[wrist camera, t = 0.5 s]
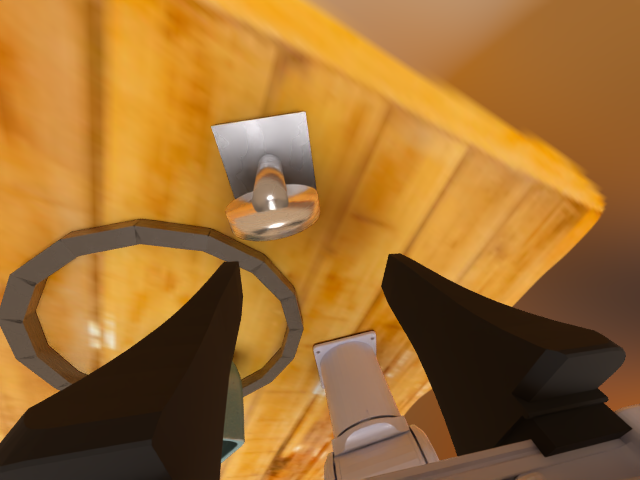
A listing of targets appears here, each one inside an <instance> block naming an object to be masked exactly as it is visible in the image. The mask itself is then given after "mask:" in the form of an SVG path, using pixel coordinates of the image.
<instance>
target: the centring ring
mask: <svg viewBox="0 0 640 480" xmlns="http://www.w3.org/2000/svg"><path fill="white" fill-rule="evenodd" d="M137 244H145V245H154V246H162V247H171V248H180V249H189V250H197V251H204V252H206V253H209V254H211V255H213V256H215V257H218V258H220V259H222V260H224V261H227V262H232V261H239V267H240V268H243V269H245V270H247V271H249V272H252V273H253V274H254V275H255V276H256V277H257V278H258V279H259V280H260V281H261V282H262V283H263V284H264V285H265V286H266V287H267V288H268V289H269V290H270V291H271V292H272V293H273V294H274V295H275V296H276V297H277V298H278V299H279V300H280V301H281V304H282V307H283V311H284V314H285V317H286V321H287V324H288V325H287V329H286V333H285V336H284V340H283V344H282V347H281V348H280V350H279V351H278V352H277V353H276V354H275V355H274V356H273V357H272V358H271V360H270V361H269V362H268V363H267V364H266V365H265V366H264V367H263V368H262V369H261V370H259V371H257V372H255V373H253V374H252V375H250V376H248V377H246V378H244V379H243V380H241V382H242V389H243V397H244V396H246V395H248V394H250V393H252V392H254V391H256V390H257V389H259V388H261V387H263V386H265V385H267V384H269V383H271V382H272V381H273V380H274V379H275V378H276V377H277V376H278V375H279V373H280V372H281V371H282V370H283V369H284V368H285V367H286V366H287V365H288V364H289V363H290V362H291V361H292V360H293V359H294V357H295V354H296V351H297V347H298V344H299V341H300V338H301V335H302V332H303V322H302V317H301V313H300V309H299V305H298V301H297V297H296V293H295V289H294V287H293V286H292V285H291V283H290V282H289V281H288V280H287V279H286V278H285V277H284V276H283V275H282V274H281V272H280V271H279V270H278V269H277V268H276V267H275V266H274V265H273V264H272V262H271V261H270V260H269V259H268V258H267V257H266V256H265V255H264V254H262V253H260V252H258V251H256V250H254V249H252V248H250V247H248V246H246V245H244V244H242V243H240V242H238V241H236V240H234V239H231V238H229V237H227V236H225V235H223V234H221V233H219V232H217V231H215V230H213V229H210V228H203V227H196V226H189V225H182V224H175V223H167V222H160V221H153V220H146V219H138V220H133V221H127V222H122V223H116V224H111V225H106V226H100V227H95V228H90V229H84V230H79V231H73V232H71V233H69V234H68V235H66V236H65V237H63V238H62V239H60V240H58V241H57V242H56V243H54V244H53V245H51V246H50V247H49V248H47V249H46V250H44V251H43V252H41V253H40V254H39V255H37V256H36V257H34V258H33V259H31V260H30V261H29V262H27V263H26V264H24V265H23V266H21V267H20V268H19V269H17V270H16V271H14V272H13V273H11V274H10V276H9V279H8V283H7V286H6V289H5V293H4V296H3V299H2V303H1V306H0V326H1V329H2V331H3V333H4V335H5V337H6V339H7V341H8V343H9V345H10V347H11V349H12V351H13V354H14V356H15V358H16V359H17V360H18V361H19V362H21V363H22V364H23V365H25V366H26V367H27V368H29V369H30V370H31V371H33V372H34V373H35V374H37V375H38V376H39V377H41V378H42V379H43V380H45V381H46V382H47V383H49V384H50V385H51V386H53V387H54V388H56V389H58V390H63V389H65V388H66V387H68V386H70V385H72V384H74V383H75V382H77V381H79V380H81V379H82V378H84V377H86V376H87V375H85V374H83V373H81V372H78V371H77V370H76V369H75V368H74V367H73V366H71V365H70V364H69V363H68V362H67V361H66V360H64V359H63V358H62V357H61V356H60V355H59V354H57V353H56V352H55V351H54V350H53V349H52V348H51V347H49V346H48V344H47V342H46V339H45V336H44V334H43V331H42V328H41V326H40V323H39V320H38V318H37V315H36V312H35V310H36V307H37V305H38V302H39V299H40V296H41V294H42V291H43V288H44V286H45V283H46V280H47V277H48V276H50V275H51V274H53V273H54V272H56V271H57V270H59V269H60V268H61V267H63V266H64V265H66V264H67V263H69V262H70V261H72V260H73V259H75V258H76V257H78V256H81V255H86V254H91V253H96V252H102V251H107V250H112V249H117V248H122V247H127V246H132V245H137Z"/></svg>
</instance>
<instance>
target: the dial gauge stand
mask: <svg viewBox="0 0 640 480" xmlns="http://www.w3.org/2000/svg"><path fill="white" fill-rule="evenodd" d="M211 128H212V131H213V134H214V137H215V140H216V143H217V146H218V149H219V152H220V155H221V158H222V161H223V164H224V167H225V170H226V173H227V176H228V179H229V182H230V185H231V188H232V191H233V194H234V197H235V200H234V201H232V202H231V203H230V204H229V205H228V206H227V208H226V210H225V212H226V215H227V218H228V221H229V224H230V226H231V229H232V232H233V233H234V235H235V236H237V237H239V238H241V239H244V240H250V241H268V240H275V239H280V238H284V237H288V236H291V235H294V234H296V233H299V232H301V231H303V230H305V229H307V228H308V227H310V226H311V225H312V224H314V223H315V222H316V221H317V220H318V218H319V216H320V207H319V200H318V193H317V190H316V183H315V176H314V169H313V162H312V155H311V148H310V141H309V134H308V127H307V120H306V112H305V111H300V112H294V113H287V114H281V115H274V116H268V117H261V118H255V119H249V120H242V121H236V122H229V123H223V124H216V125H213V126H211Z"/></svg>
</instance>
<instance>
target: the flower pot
mask: <svg viewBox="0 0 640 480" xmlns="http://www.w3.org/2000/svg"><path fill="white" fill-rule="evenodd" d="M244 442H245V439H244V407H243V389H242V382H241V378H240V375H239V372H238V370H237V368H236V366H235V364H234V363H233V361H232V364H231V370H230V376H229V385H228V394H227V403H226V413H225V423H224V433H223V445H222V456H221V463H222V462H223V461H224V460H225V459H227V458H228V457H229V456H230V455H231V454H232V453H234V452H235V451H236V450H237V449H239V448H240V447H241V446H242V445H243V444H244Z"/></svg>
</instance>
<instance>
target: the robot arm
mask: <svg viewBox="0 0 640 480" xmlns="http://www.w3.org/2000/svg"><path fill="white" fill-rule="evenodd" d="M381 287H382V289H383V292H384V295H385V297H386V299H387V302H388V304H389V306H390V307H391V309H392V311H393V313H394V314H395V316H396V318H397V320H398V321H399V323H400V325H401V326H402V328H403V330H404V331H405V333H406V335H407V336H408V338H409V340H410V341H411V343H412V345H413V347H414V349H415V351H416V353H417V355H418V357H419V359H420V361H421V364H422V366H423V368H424V370H425V372H426V375H427V377H428V379H429V382H430V384H431V386H432V389H433V391H434V393H435V396H436V399H437V401H438V404H439V406H440V409H441V411H442V414H443V416H444V419H445V422H446V425H447V427H448V430H449V433H450V436H451V439H452V442H453V444H454V447H455V450H456V453H457V456H458V457H454V458H450V459H445V460H441V461H439V459H438V457H437V455H436V452H435V450H434V449H433V446H432V445H431V443H430V441H429V439H428V438H427V436H426V434H425V433H424V432H423V431H422V430H421V429H419V428H418V427H417V426H416V425H414V424H413V425H410V426H408V424H407V422H406V420H405V417H404V416H401V415H400V413H399V411H398V408H397V406H396V403H395V401H394V399H393V396H392V394H391V392H390V389H389V387H388V384H387V382H386V380H385V377H384V375H383V373H382V370H381V368H380V366H379V363H378V361H377V358H376V334H375V332H374V331H370V332H366V333H362V334H358V335H354V336H350V337H346V338H342V339H338V340H334V341H330V342H326V343H322V344H318V345H315V346H314V347H313V350H314V355H315V359H316V363H317V367H318V372H319V376H320V380H321V385H322V388H324V389H325V393H326V398H327V403H328V408H329V413H330V418H331V423H332V429H333V434H334V439H333V440H332V446H333V451H334V452H331V453H329V454H328V455H327V459H326V462H325V464H324V480H640V404H637V405H633V406H628V407H624V408H621V409H619V410H617V411H615V412H613V411H612V410H611V409H610V408H609V407H608V406H606V405H605V404H604V402H607V401H608V397H607V396H606V395H604V393H602V392H601V391H600V390H599V389H598V387H599V386H600V385H601V384H602V383H604V382H605V381H606V380H607V379H608V378H609V377H610V376H611V375H612V374H613V373H614V372H616V370H617V369H618V368H619V367H620V366H621V365H622V364H623V362H624V360H625V357H626V355H625V351H624V350H623V348H621V347H620V346H618V345H617V344H615V343H614V342H612V341H611V340H609V339H608V338H606V337H605V336H603V335H602V334H600V333H598V332H596V331H594V330H590V329H586V328H582V327H578V326H574V325H570V324H566V323H561V322H558V321H554V320H550V319H547V318H544V317H541V316H537V315H534V314H530V313H528V312H525V311H522V310H519V309H515V308H513V307H510V306H507V305H505V304H502V303H499V302H496V301H494V300H491V299H489V298H486V297H484V296H482V295H480V294H477V293H475V292H473V291H470V290H468V289H466V288H464V287H462V286H460V285H458V284H456V283H454V282H452V281H450V280H448V279H446V278H444V277H443V276H441V275H439V274H437V273H435V272H433V271H432V270H430V269H428V268H426V267H425V266H423V265H421V264H419V263H418V262H416V261H414V260H412V259H410V258H408V257H406V256H404V255H402V254H389V256H388V260H387V264H386V268H385V273H384V277H383V281H382V285H381ZM242 303H243V293H242V284H241V276H240V268H239V261H232V262H224V263H223V264H222V265H221V266H220V267H219V268H218V269H217V270H216V272H215V273H214V274H213V275H212V276H211V278H210V279H209V280H208V281H207V282H206V283H205V284H204V285H203V286H202V287H201V289H200V290H199V291H198V292H197V293H196V294H195V295H194V296H193V297H192V298H191V299H190V300H189V301H188V302H187V303H186V304H185V305H184V306H183V307H182V308H181V309H180V310H178V311H177V312H176V313H175V314H174V315H173V316H172V317H171V318H169V319H168V320H167V321H166V322H164V323H163V324H162V325H161V326H160V327H158V328H157V329H156V330H154V331H153V332H152V333H150V334H149V335H148V336H146V337H145V338H143V339H142V340H141V341H139V342H138V343H137V344H135V345H134V346H132V347H131V348H130V349H128V350H127V351H125V352H124V353H122V354H121V355H119V356H118V357H116V358H115V359H113V360H111V361H110V362H108V363H107V364H105V365H104V366H102V367H100V368H99V369H97V370H96V371H94V372H92V373H91V374H89V375H87V376H86V377H84V378H82V379H81V380H79V381H77V382H75V383H74V384H72V385H70V386H68V387H66V388H65V389H63V390H61V391H59V392H58V393H56V394H54V395H52V396H51V397H49V398H47V399H45V400H43V401H42V402H40V403H38V404H36V405H34V406H32V407H31V408H29V409H28V410H27V411H26V412H25V413H24V414H23V416H22V417H21V418H20V419H19V420H18V422H17V423H16V424H15V425H14V427H13V428H12V429H11V430H10V432H9V433H8V434H7V435H6V437H5V438H4V439H3V440H2V442H1V443H0V480H220V468H221V456H222V445H223V433H224V423H225V413H226V403H227V394H228V385H229V376H230V370H231V364H232V359H233V354H234V350H235V345H236V340H237V335H238V331H239V326H240V321H241V315H242Z"/></svg>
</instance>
